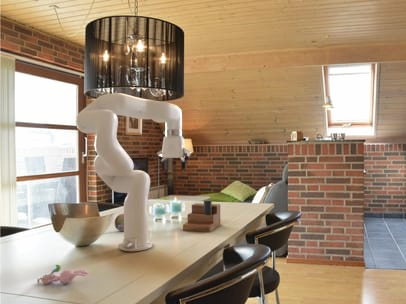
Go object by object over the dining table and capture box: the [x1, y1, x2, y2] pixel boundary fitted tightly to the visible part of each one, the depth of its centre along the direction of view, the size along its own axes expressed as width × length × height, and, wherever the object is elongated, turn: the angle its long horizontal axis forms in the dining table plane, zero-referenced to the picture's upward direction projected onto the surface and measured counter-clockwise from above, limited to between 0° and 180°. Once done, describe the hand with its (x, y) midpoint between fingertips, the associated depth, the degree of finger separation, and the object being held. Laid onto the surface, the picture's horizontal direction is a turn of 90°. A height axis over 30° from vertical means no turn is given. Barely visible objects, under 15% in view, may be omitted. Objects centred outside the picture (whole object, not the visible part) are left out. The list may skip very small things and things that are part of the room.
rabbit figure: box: [36, 264, 89, 285], centre depth 104 cm, size 6×6×15 cm
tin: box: [114, 213, 124, 232], centre depth 175 cm, size 15×3×8 cm, turn 143°
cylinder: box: [203, 199, 213, 215], centre depth 176 cm, size 4×4×7 cm
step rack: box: [182, 202, 222, 233], centre depth 177 cm, size 16×14×11 cm
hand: (174, 170), depth 164 cm, fingers open, 9 cm apart
